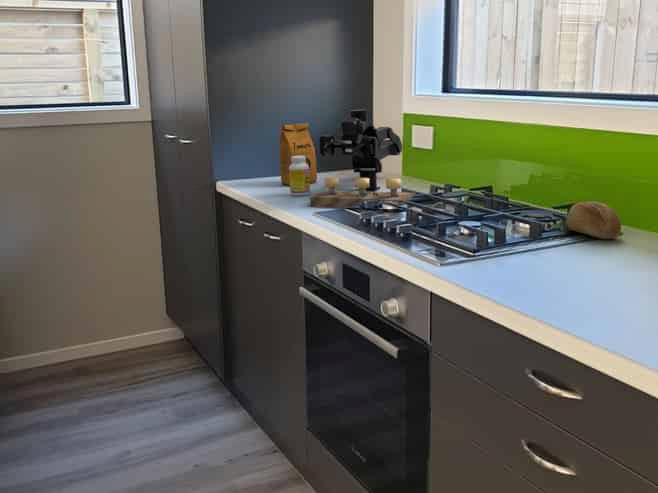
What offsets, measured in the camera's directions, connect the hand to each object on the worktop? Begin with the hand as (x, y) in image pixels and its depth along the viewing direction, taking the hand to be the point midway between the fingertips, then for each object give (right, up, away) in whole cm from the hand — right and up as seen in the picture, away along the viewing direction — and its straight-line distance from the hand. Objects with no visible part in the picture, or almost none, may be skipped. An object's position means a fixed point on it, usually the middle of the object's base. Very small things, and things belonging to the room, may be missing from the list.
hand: (338, 150), depth 208 cm
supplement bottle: (-12, -12, +24) cm, 29 cm away
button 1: (-2, -13, +6) cm, 14 cm away
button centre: (+7, -13, +2) cm, 15 cm away
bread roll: (+59, -27, -45) cm, 79 cm away
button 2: (+17, -14, -2) cm, 22 cm away
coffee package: (-14, -6, +46) cm, 48 cm away
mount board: (+8, -16, +3) cm, 18 cm away
